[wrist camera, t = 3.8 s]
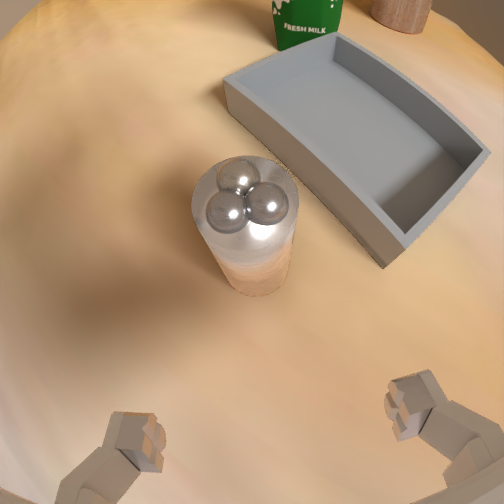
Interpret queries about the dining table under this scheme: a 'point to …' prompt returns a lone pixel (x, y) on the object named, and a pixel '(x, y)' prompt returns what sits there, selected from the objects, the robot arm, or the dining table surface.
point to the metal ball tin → (248, 221)
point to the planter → (401, 14)
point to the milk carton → (304, 20)
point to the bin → (358, 138)
